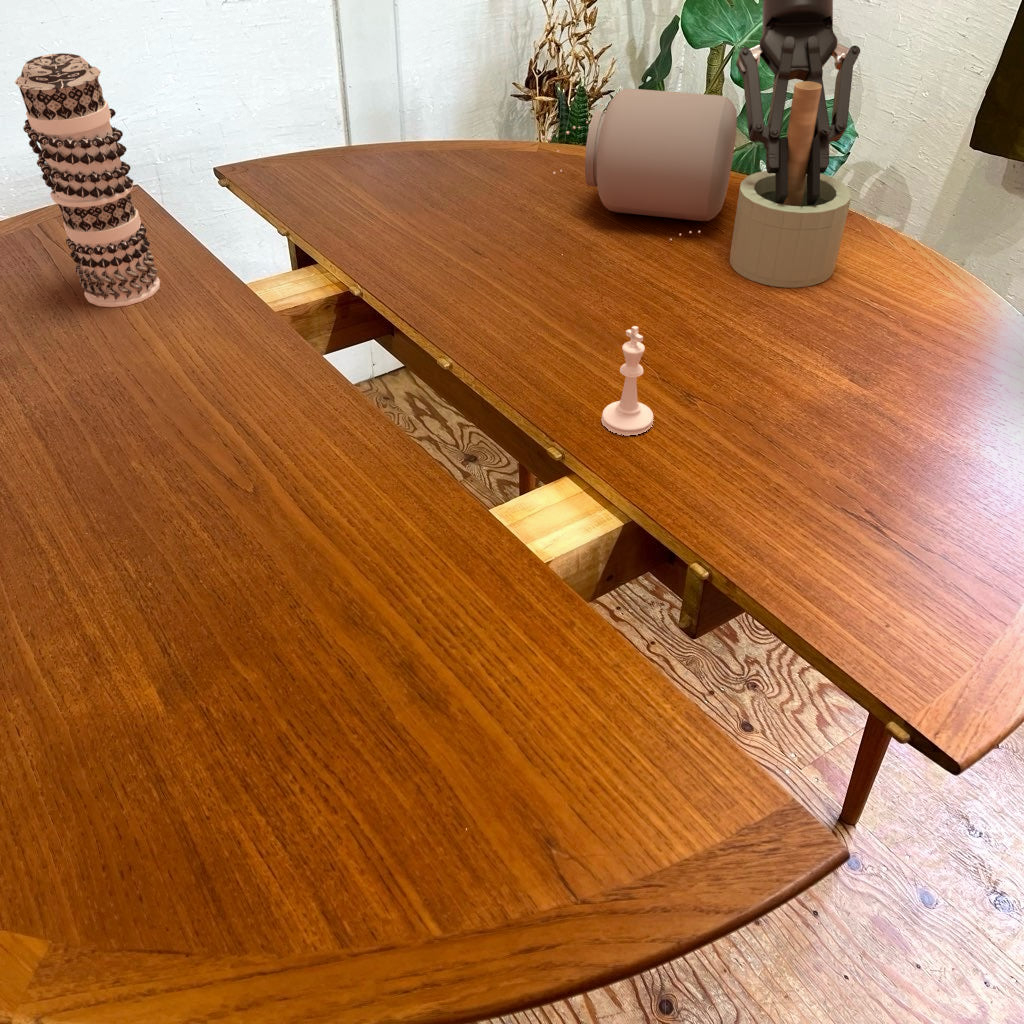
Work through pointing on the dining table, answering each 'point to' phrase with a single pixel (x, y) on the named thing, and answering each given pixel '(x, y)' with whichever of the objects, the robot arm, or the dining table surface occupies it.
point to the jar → (662, 153)
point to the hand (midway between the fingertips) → (797, 200)
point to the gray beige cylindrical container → (788, 233)
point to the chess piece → (629, 394)
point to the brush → (801, 137)
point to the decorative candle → (88, 178)
